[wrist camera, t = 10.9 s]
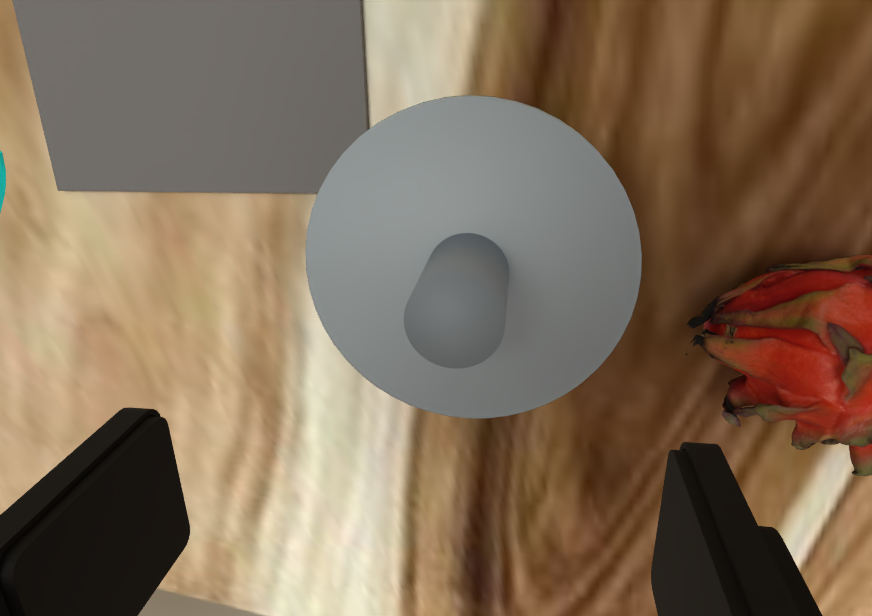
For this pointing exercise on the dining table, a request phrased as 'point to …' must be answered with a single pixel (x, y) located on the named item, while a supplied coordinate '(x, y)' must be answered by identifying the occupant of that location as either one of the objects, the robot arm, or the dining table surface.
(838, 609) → the dining table surface
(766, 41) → the dining table surface
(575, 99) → the dining table surface
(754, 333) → the dragon fruit
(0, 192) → the cloth
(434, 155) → the lid
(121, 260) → the dining table surface
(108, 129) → the mat
